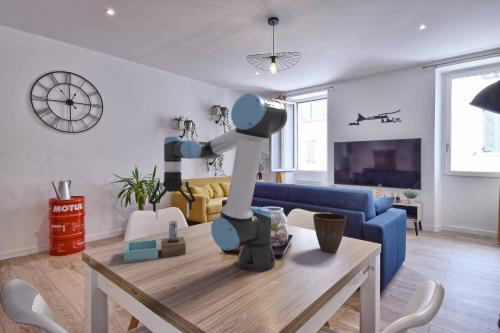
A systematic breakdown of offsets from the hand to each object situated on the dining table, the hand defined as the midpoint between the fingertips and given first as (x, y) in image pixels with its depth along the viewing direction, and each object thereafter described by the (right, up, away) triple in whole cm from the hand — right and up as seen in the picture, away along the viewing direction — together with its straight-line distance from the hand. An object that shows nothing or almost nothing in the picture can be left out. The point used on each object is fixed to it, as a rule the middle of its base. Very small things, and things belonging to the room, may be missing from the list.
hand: (172, 217), depth 118 cm
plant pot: (+72, -16, +4) cm, 74 cm away
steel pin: (0, -16, 0) cm, 16 cm away
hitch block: (0, -16, 0) cm, 16 cm away
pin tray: (-12, -16, -4) cm, 20 cm away
